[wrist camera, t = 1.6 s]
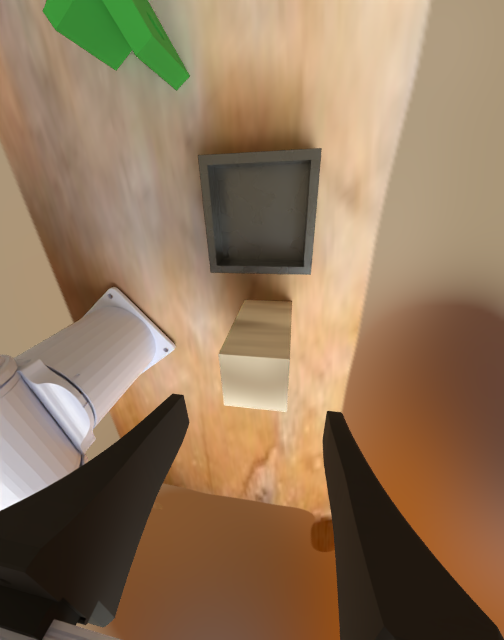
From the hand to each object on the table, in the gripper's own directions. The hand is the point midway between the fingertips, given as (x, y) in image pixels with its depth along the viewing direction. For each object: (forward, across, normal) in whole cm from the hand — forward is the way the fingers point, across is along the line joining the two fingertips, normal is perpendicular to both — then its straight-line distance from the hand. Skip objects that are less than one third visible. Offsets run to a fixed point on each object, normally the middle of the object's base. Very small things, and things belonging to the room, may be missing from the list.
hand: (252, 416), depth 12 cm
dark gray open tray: (+10, +1, -8) cm, 13 cm away
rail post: (+10, 0, 0) cm, 10 cm away
